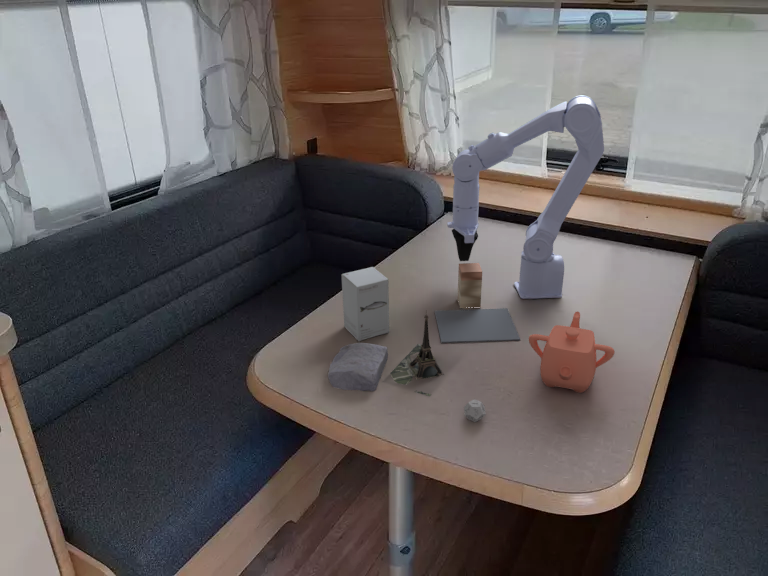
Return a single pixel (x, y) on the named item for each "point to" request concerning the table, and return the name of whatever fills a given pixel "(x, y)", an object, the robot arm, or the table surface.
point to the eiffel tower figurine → (417, 363)
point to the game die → (474, 410)
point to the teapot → (569, 356)
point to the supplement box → (365, 303)
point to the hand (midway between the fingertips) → (463, 259)
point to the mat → (476, 325)
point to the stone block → (358, 367)
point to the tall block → (469, 285)
